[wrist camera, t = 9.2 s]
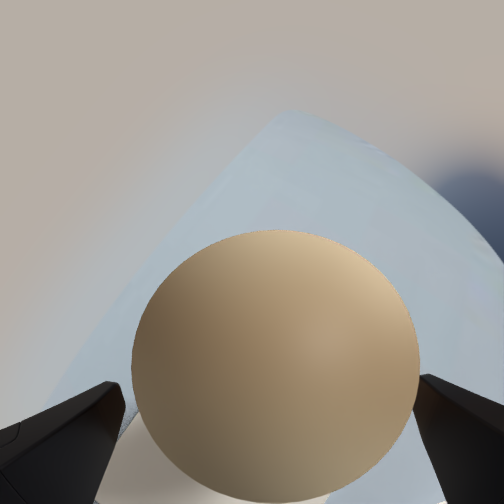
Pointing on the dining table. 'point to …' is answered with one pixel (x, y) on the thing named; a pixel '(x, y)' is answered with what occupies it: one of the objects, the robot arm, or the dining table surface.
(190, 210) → the dining table surface
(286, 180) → the dining table surface
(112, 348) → the dining table surface
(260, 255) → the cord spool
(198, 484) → the mat
